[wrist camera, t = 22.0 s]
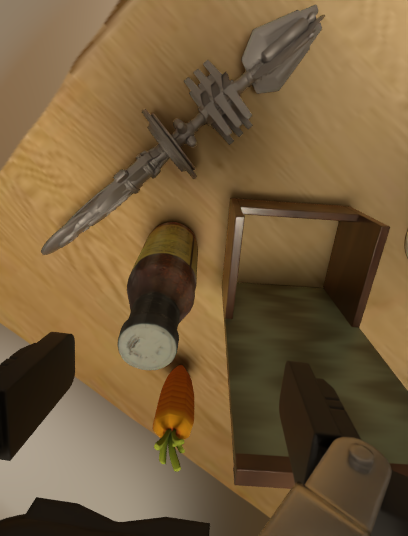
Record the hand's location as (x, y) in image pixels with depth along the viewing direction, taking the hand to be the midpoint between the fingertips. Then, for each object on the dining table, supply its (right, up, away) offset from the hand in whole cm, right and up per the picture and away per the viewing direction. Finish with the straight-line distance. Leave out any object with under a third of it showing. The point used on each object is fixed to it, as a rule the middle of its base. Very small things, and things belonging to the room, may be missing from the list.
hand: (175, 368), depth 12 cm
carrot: (-2, -11, +35) cm, 36 cm away
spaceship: (-2, +17, +23) cm, 29 cm away
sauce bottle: (-3, +7, +27) cm, 28 cm away
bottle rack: (+11, +6, +27) cm, 30 cm away
